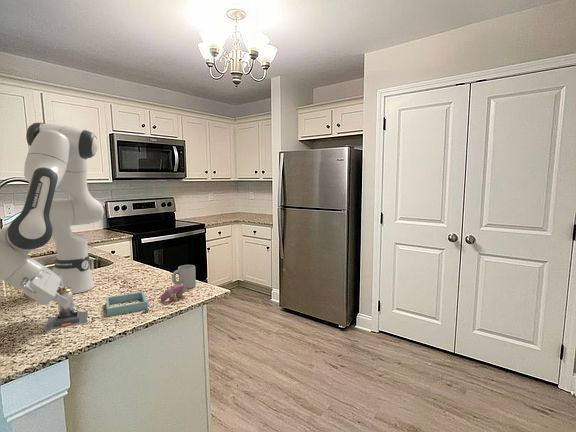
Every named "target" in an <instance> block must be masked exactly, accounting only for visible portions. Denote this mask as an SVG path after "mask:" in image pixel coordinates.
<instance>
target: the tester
mask: <svg viewBox="0 0 576 432" xmlns="http://www.w3.org/2000/svg"><path fill="white" fill-rule="evenodd" d="M88 313H89V311H88V310H86V311H80V310H77V311H74V314H73V315H71V316H68V317H59V314H55V316H50V317H48V319H47V322H46V325H45V327H44V330H43V331H45V332H47V331H51V330H57V329H61V328H67V327H72V326H77V325H83V324H87V323H88Z"/></svg>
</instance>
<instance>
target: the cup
mask: <svg viewBox="0 0 576 432" xmlns="http://www.w3.org/2000/svg"><path fill="white" fill-rule="evenodd" d="M177 275H178V281H177V279H176V278H177ZM196 277H197V276H196V266H195V265H193V264H184V265H180V266H178V268H177V269H176V270H174V271H173V272H172V274H171V281H172V284H174V285H177V284H179V285H181V284H183V285H185V286H186V287H187V290H188V289H189V290H190V289H193V288H195V287H196V283H197V282H196V281H197V279H196Z"/></svg>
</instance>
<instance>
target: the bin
mask: <svg viewBox="0 0 576 432" xmlns="http://www.w3.org/2000/svg"><path fill="white" fill-rule="evenodd" d="M105 301H106V302H105V303H106V316H107V317H111V316H117V315H122V314H123V315H124V314H128V313H132V312H133V313H134V312H137V311H142V312H141V313H140V315H143V314H148V313H149V303H148V300H147V297H146V294H145V292H144V291H139V292H137V291H136V292H133V293H132V292H131V293H127V294H120V295H114V296H106V297H105ZM131 301H138V302H134V303H129V304H124V305H119V306H112V307H110V305H113V304H119V303H127V302H131ZM139 301H140V302H139ZM141 301H142V302H141ZM143 310H144V311H143Z"/></svg>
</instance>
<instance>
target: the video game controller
mask: <svg viewBox="0 0 576 432" xmlns="http://www.w3.org/2000/svg"><path fill="white" fill-rule="evenodd" d="M187 290H188V289H187V287H186V286H185V285H183V284H181V285H179V284H177V285H175V284H174V285H172V286H170V287H168V288H167V289H166V290H165V291H164V292H163V293H162V294H161V295H160V300H161V302H165V301H166V300H168V299H169V300H170V301H173V300H174V299H176V298H177V299H178V298H180V297H181V296H182V295H183V294H184V293H186V291H187Z"/></svg>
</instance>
